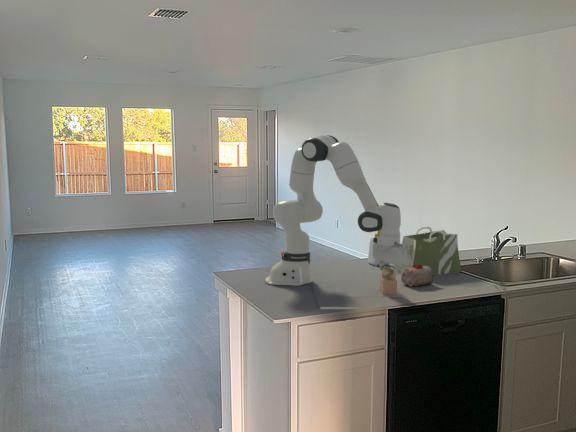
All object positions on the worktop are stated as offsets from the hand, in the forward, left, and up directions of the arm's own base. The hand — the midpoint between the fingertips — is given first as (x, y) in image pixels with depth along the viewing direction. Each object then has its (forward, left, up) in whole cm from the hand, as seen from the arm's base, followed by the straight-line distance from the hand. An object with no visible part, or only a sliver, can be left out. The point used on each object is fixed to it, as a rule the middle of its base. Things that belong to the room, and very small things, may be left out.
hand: (388, 272), depth 241 cm
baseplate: (-6, 0, -10) cm, 12 cm away
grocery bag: (+32, +44, -10) cm, 55 cm away
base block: (0, 0, -10) cm, 10 cm away
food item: (+18, +18, -10) cm, 27 cm away
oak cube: (0, 0, -3) cm, 3 cm away
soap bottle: (+7, +64, -10) cm, 65 cm away
